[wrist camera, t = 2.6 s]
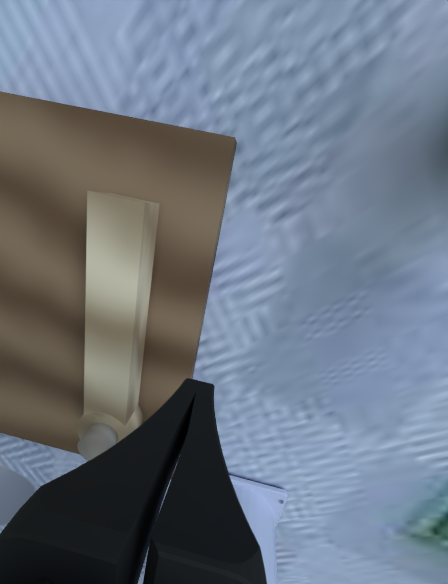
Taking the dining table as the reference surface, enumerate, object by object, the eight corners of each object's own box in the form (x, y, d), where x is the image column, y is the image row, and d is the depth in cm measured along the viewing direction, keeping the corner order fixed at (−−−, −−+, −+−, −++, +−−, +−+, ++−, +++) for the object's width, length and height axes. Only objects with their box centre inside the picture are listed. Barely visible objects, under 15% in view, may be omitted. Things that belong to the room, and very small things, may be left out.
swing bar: (140, 439, 20) (120, 479, 17) (93, 426, 21) (64, 464, 18) (168, 205, 14) (144, 204, 11) (101, 191, 15) (60, 186, 12)
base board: (175, 466, 23) (171, 479, 22) (-87, 395, 24) (-104, 403, 23) (236, 142, 14) (234, 137, 13) (-174, 62, 16) (-207, 51, 15)
